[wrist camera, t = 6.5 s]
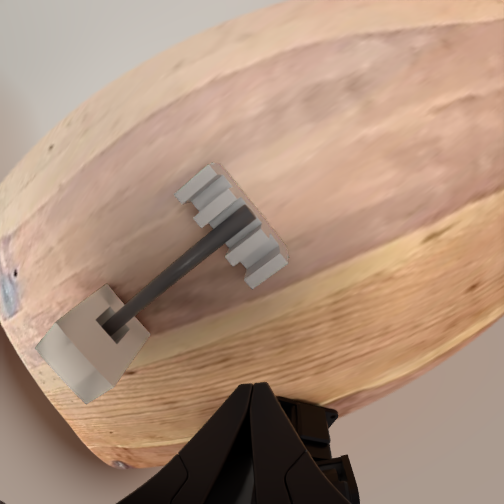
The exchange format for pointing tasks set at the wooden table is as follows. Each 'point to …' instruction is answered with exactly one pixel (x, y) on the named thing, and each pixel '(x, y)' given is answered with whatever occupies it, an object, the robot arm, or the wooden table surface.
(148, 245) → the wooden table surface
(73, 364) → the sleeve
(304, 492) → the robot arm
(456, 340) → the wooden table surface
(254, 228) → the cord rig
